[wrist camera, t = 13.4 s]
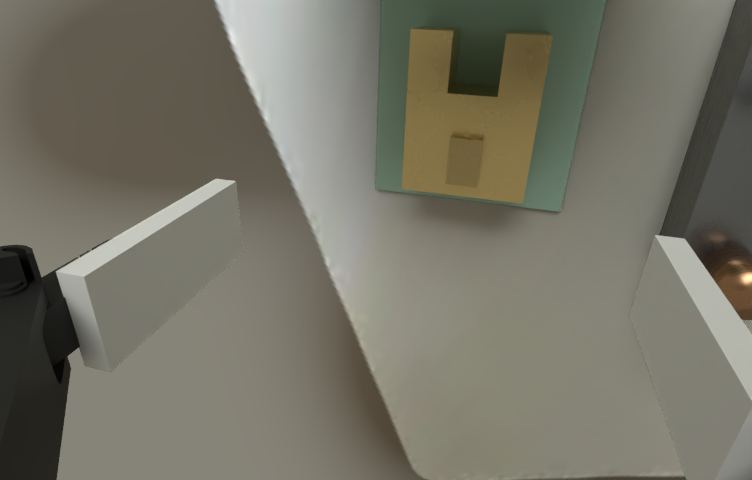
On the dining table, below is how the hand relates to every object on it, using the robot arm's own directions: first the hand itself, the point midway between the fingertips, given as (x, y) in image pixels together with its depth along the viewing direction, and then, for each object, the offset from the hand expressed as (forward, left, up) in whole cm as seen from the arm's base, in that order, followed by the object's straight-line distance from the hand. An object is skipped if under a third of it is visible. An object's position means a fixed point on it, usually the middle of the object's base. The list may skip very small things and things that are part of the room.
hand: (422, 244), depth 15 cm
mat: (0, 0, -22) cm, 22 cm away
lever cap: (0, 0, -21) cm, 21 cm away
